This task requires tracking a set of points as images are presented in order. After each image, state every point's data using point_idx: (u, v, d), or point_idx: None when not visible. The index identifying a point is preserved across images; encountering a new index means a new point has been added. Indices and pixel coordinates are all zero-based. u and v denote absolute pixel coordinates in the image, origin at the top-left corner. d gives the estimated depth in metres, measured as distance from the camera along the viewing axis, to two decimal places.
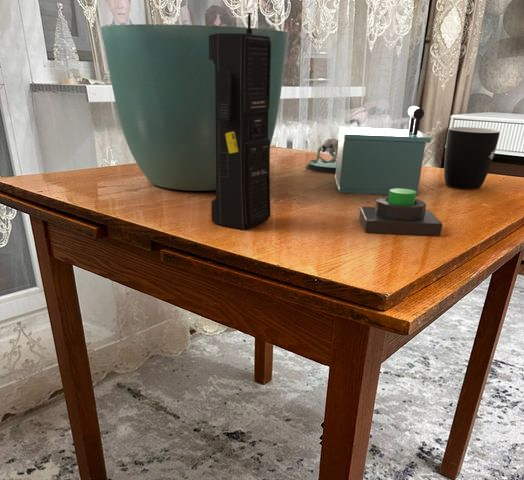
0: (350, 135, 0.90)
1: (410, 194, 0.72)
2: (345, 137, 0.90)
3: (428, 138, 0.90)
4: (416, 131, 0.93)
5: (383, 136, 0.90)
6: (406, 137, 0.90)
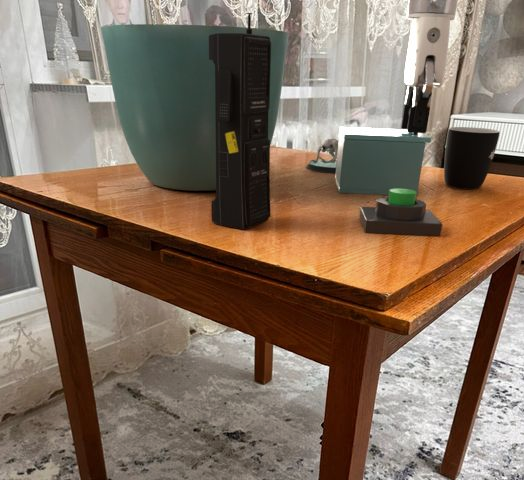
0: (350, 135, 0.90)
1: (410, 194, 0.72)
2: (345, 137, 0.90)
3: (428, 138, 0.90)
4: None
5: (383, 136, 0.90)
6: (406, 137, 0.90)
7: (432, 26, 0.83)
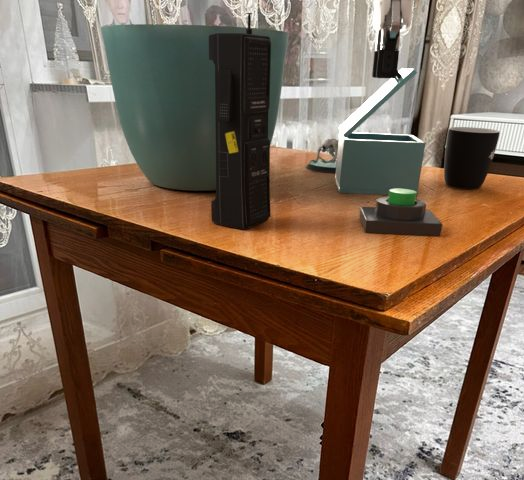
0: (348, 131, 0.90)
1: (410, 194, 0.72)
2: (345, 136, 0.90)
3: (412, 71, 0.85)
4: (398, 74, 0.89)
5: (374, 106, 0.88)
6: (393, 88, 0.87)
7: None
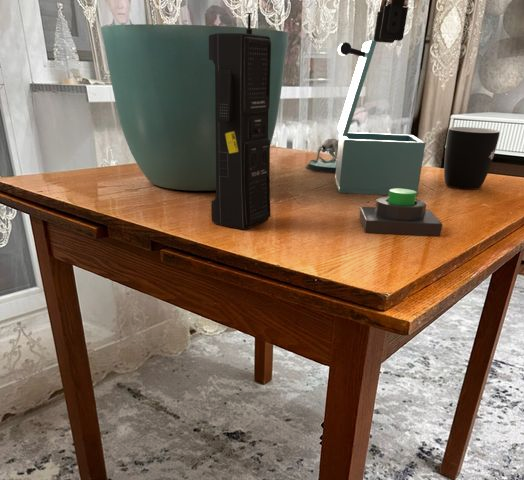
0: (345, 129, 0.90)
1: (410, 194, 0.72)
2: (345, 135, 0.90)
3: (371, 43, 0.84)
4: (362, 52, 0.88)
5: (355, 94, 0.87)
6: (363, 69, 0.86)
7: None
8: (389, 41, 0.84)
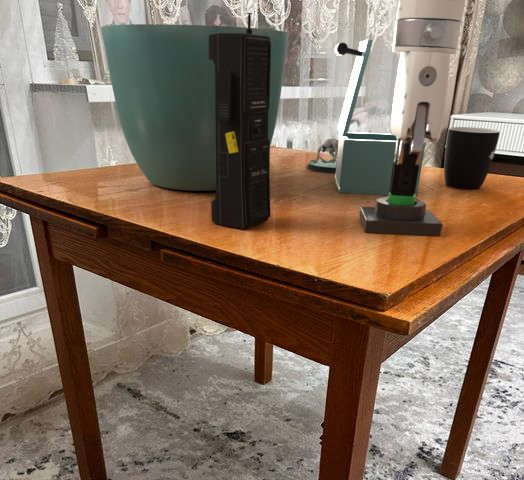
0: (344, 129, 0.90)
1: (409, 197, 0.72)
2: (345, 135, 0.90)
3: (368, 42, 0.84)
4: (359, 52, 0.88)
5: (354, 94, 0.87)
6: (361, 68, 0.86)
7: (426, 64, 0.62)
8: None
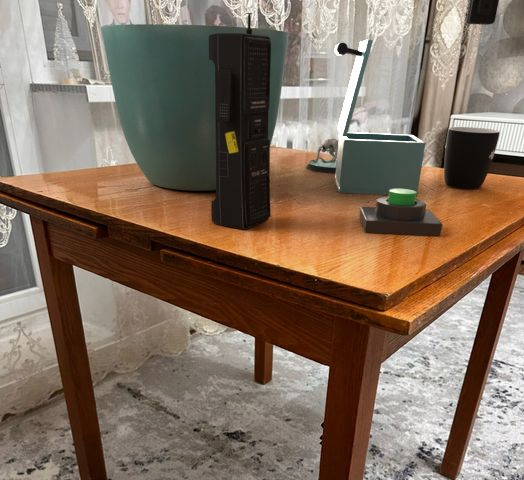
0: (344, 129, 0.90)
1: (410, 194, 0.72)
2: (345, 135, 0.90)
3: (368, 42, 0.84)
4: (359, 52, 0.88)
5: (354, 94, 0.87)
6: (361, 68, 0.86)
7: None
8: None
